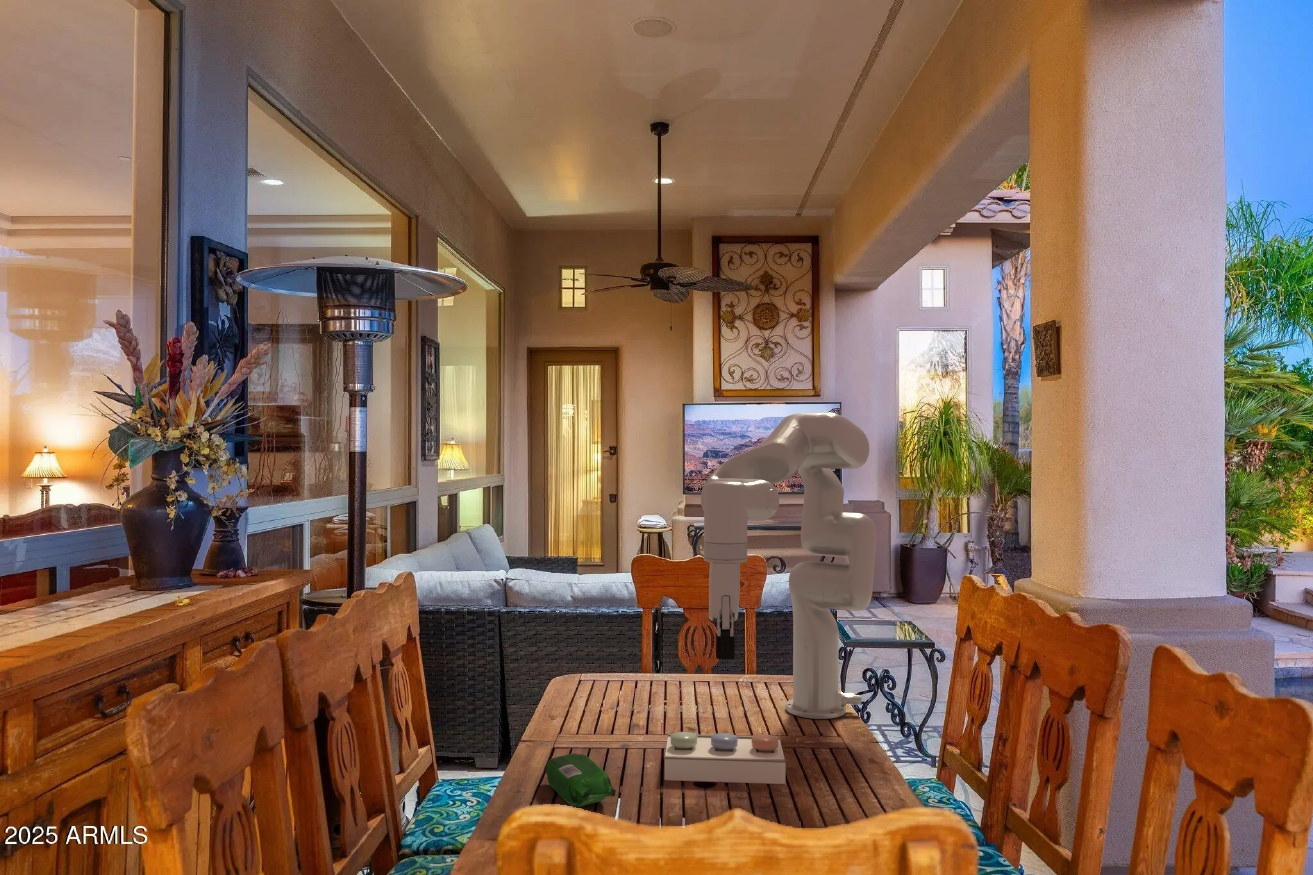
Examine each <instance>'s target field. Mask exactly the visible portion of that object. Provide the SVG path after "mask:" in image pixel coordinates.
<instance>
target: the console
mask: <svg viewBox="0 0 1313 875" xmlns="http://www.w3.org/2000/svg"><path fill="white" fill-rule="evenodd" d="M672 734H673V733H667V741H666V748H665V754H664V781H676V782H678V781H679V782H680V781H683V782H684V781H685V782H686V781H687V782H706V783H707V782H708V783H709V782H710V783H712V782H713V783H714V782H715V783H737V784H738V783H740V784H741V783H742V784H745V783H747V784H770V785H771V784H774V785H775V784H776V785H786V769H787V768H786V758H785V755H784V752H783V747H782V743H781V737H780V736H776V737H777V738H778V748H777V749H774V750H772V753H762V752H757V750H758V749H755V748H753V747H752V737H753V736H754V735H736V736H737V737H738V746H737V747H735V748H732V749H731V752H729V751H717V748H715V747H713V746H712V745H711V736H712V735H713V734H697V733H696V735H697V745H696V746H694V747H691V750H677V747H675V746H673V745H671V735H672Z"/></svg>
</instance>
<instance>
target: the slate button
mask: <svg viewBox="0 0 1313 875" xmlns="http://www.w3.org/2000/svg"><path fill="white" fill-rule="evenodd" d="M711 735H712V736H711V745H712V746H713V747H715V748H717V751H729V752H731V749H732V748H735V747H737V746H738V737H737V736H738V735H735V734H733V733H727V732H720V733H714V734H711Z"/></svg>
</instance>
